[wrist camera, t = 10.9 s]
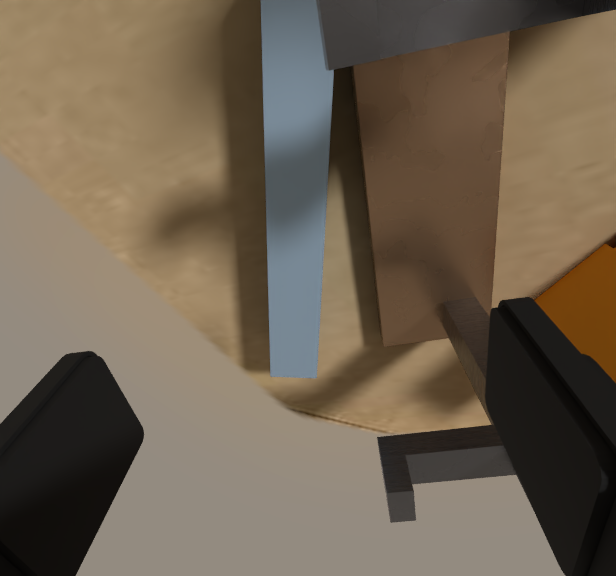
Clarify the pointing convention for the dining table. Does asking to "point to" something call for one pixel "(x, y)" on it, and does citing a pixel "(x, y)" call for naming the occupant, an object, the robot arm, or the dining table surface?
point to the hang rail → (295, 179)
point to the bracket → (587, 307)
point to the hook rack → (434, 191)
